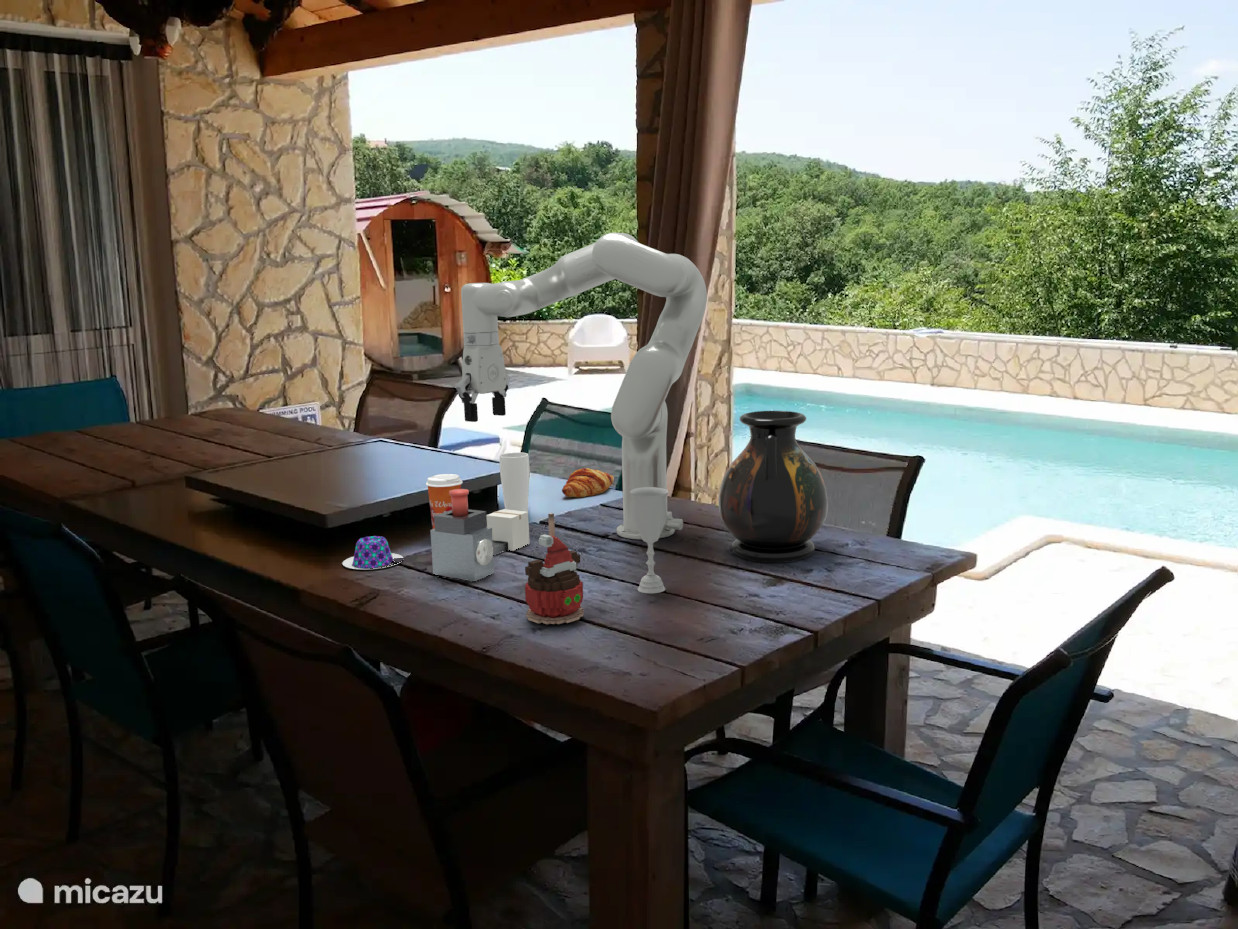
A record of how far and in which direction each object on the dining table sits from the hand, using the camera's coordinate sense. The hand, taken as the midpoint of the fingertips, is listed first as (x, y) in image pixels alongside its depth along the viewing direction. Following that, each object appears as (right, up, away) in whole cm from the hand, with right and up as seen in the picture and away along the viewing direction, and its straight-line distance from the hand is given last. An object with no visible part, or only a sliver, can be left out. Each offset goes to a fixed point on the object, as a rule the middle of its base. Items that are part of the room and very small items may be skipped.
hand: (485, 418), depth 237 cm
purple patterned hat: (-20, -30, -21) cm, 42 cm away
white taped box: (+6, -27, -12) cm, 30 cm away
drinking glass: (+6, -23, +13) cm, 27 cm away
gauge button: (-1, -20, -33) cm, 39 cm away
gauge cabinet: (0, -31, -31) cm, 44 cm away
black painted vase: (+60, -28, -22) cm, 70 cm away
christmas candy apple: (+19, -36, -58) cm, 71 cm away
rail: (+4, -28, -15) cm, 32 cm away
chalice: (+35, -33, -43) cm, 65 cm away
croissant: (+22, -18, +39) cm, 48 cm away
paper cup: (-7, -27, -6) cm, 28 cm away
